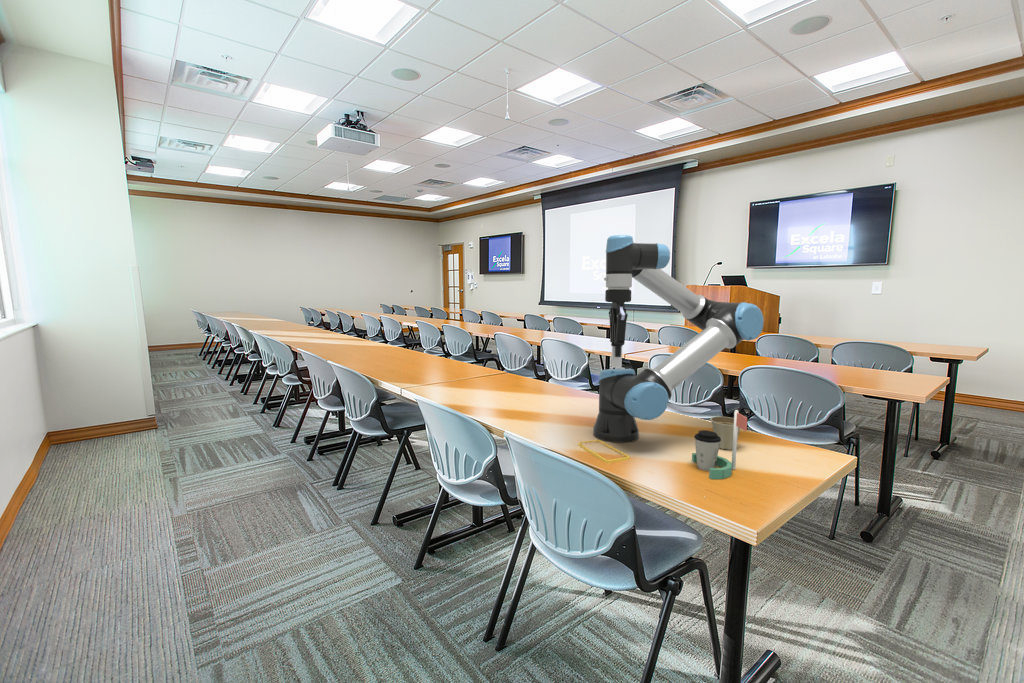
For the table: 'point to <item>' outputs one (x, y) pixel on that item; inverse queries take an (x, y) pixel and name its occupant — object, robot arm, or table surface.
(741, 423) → the flag
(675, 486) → the table surface
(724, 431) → the flower pot
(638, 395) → the robot arm
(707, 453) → the coffee cup
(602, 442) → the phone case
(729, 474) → the cup ring
